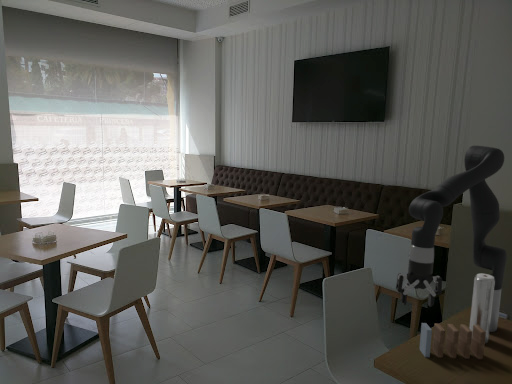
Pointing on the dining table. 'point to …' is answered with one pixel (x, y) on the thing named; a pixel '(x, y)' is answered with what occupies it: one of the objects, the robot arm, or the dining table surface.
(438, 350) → the walnut domino
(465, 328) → the walnut domino
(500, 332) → the dining table surface
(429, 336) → the slate domino
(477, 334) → the walnut domino
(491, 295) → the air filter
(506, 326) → the dining table surface
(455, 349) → the walnut domino
